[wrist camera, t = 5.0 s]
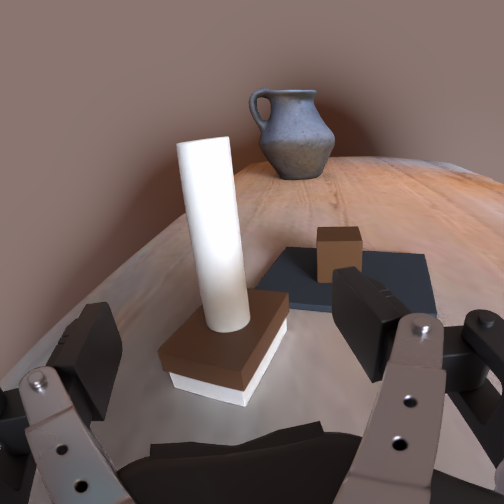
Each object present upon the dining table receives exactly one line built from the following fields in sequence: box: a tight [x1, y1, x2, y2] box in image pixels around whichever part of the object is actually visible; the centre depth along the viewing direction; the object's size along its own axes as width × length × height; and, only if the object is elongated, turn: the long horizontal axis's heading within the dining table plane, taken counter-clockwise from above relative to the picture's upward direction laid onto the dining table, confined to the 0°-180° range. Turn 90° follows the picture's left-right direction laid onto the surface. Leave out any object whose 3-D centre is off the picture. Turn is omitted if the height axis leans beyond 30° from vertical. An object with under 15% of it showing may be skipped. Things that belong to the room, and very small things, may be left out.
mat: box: [254, 247, 437, 318], centre depth 30 cm, size 16×12×1 cm
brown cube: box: [316, 227, 363, 283], centre depth 30 cm, size 4×4×4 cm
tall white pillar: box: [157, 137, 289, 407], centre depth 19 cm, size 8×5×14 cm, turn 158°
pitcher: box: [249, 88, 335, 180], centre depth 81 cm, size 21×22×25 cm
